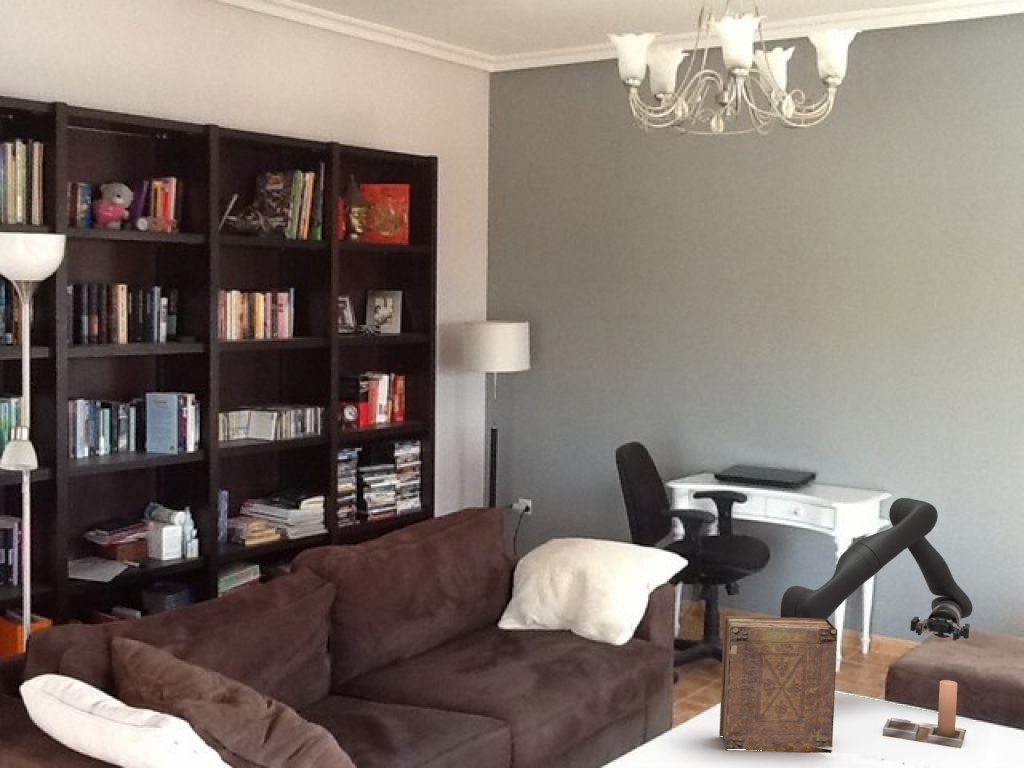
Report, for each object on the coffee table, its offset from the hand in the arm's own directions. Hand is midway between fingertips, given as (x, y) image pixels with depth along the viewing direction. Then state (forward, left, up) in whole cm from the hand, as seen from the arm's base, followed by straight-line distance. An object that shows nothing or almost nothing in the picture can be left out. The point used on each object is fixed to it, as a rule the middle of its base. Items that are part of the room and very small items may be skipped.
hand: (936, 633), depth 320 cm
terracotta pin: (+5, -15, -22) cm, 27 cm away
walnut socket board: (0, -13, -23) cm, 26 cm away
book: (-32, -34, -23) cm, 52 cm away
